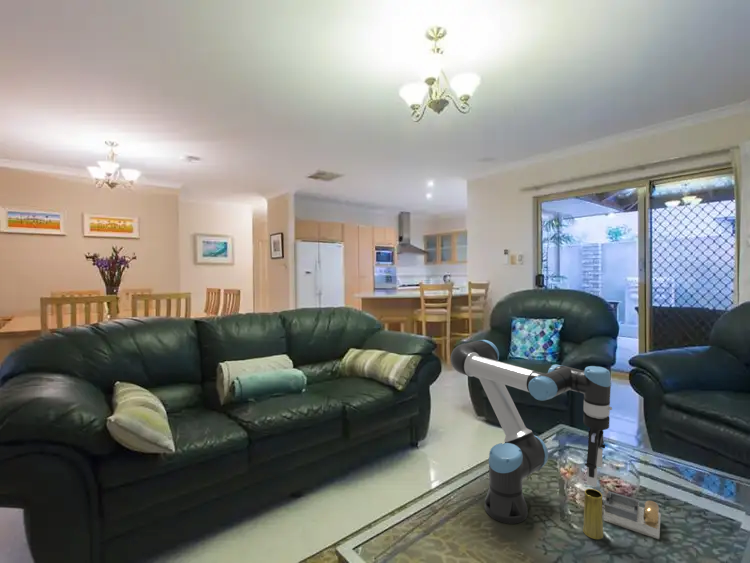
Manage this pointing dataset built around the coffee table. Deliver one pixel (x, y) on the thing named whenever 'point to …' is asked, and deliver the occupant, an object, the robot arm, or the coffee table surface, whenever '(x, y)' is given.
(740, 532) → the coffee table surface
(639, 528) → the white holder stand
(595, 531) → the vase
